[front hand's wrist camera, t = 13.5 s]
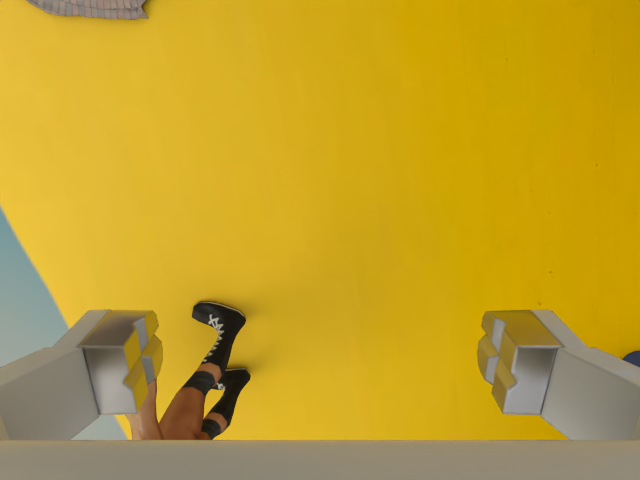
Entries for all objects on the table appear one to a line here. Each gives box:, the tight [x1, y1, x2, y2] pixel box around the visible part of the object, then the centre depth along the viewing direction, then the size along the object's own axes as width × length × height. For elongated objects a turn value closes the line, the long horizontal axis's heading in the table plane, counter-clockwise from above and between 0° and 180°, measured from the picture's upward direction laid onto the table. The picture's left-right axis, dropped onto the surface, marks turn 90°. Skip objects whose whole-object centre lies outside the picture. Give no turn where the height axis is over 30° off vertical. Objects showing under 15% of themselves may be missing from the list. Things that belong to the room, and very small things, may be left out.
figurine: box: [125, 302, 250, 440], centre depth 34 cm, size 24×6×30 cm, turn 0°
